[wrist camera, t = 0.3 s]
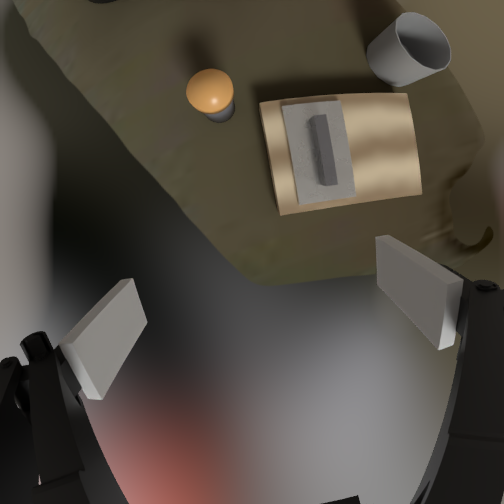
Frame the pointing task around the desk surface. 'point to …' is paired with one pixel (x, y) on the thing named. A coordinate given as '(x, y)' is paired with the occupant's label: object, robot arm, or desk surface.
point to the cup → (408, 50)
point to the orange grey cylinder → (212, 94)
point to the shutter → (319, 151)
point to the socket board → (352, 149)
